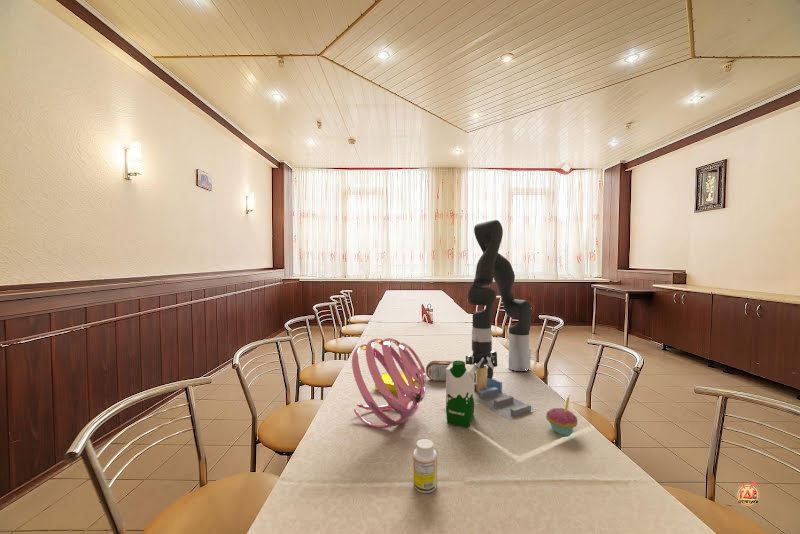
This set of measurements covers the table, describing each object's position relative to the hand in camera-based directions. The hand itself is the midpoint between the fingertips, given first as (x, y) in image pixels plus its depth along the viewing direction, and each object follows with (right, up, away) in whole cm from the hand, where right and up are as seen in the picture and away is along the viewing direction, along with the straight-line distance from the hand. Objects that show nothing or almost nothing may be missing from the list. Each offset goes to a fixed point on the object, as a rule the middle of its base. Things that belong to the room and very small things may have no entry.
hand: (481, 380), depth 128 cm
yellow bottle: (0, -5, 0) cm, 5 cm away
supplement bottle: (-26, -8, -50) cm, 57 cm away
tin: (-13, -6, +15) cm, 21 cm away
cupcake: (+18, -7, -27) cm, 33 cm away
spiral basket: (-35, -7, -19) cm, 40 cm away
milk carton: (-12, -7, -20) cm, 24 cm away
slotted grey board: (+4, -6, -6) cm, 10 cm away
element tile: (-33, -6, +9) cm, 34 cm away
